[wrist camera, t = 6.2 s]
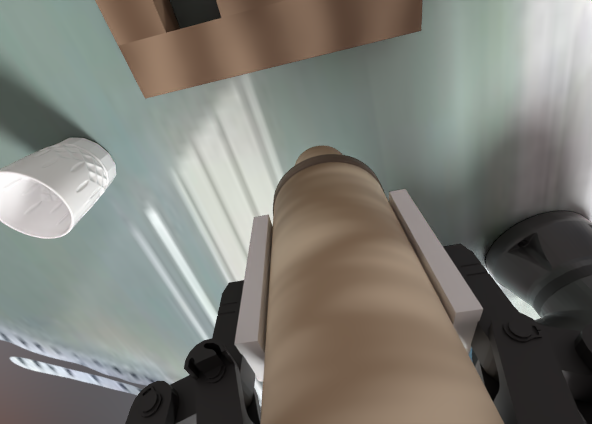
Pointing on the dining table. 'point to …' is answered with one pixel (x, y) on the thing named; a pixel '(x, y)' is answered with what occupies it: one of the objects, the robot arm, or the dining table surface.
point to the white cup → (54, 187)
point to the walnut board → (245, 36)
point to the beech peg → (356, 311)
